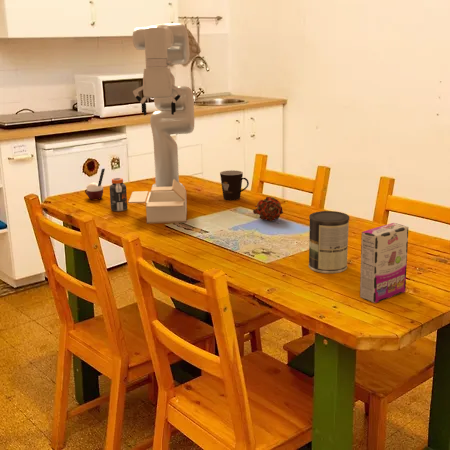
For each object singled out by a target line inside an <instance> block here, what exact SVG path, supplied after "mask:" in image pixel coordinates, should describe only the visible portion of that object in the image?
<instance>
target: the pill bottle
mask: <svg viewBox="0 0 450 450" xmlns="http://www.w3.org/2000/svg"><path fill="white" fill-rule="evenodd" d="M127 194H128V193H127V185H126V184H125V183H124V179H123V178H121V177H113V178H111V184H110V185H109V201H110V202H109V204H110V210H111V211H113V212H125V211H126V210H128V196H127Z"/></svg>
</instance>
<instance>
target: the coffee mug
mask: <svg viewBox="0 0 450 450" xmlns="http://www.w3.org/2000/svg"><path fill="white" fill-rule="evenodd" d="M243 174H244V173H243V171H240V170H233V169H231V170H223V171H220V172H219V176H220V182H221V183H220V184H221V190H222V195H223V196H222V198H223V200H224V201H228V202H229V201H238V200H240V199H241V196H242V195H241V194H242V192H243V191H245V190H246V189H247V188H248V187H249V184H250V183H249V180H248V179H247V178H246V177H243V176H244V175H243ZM243 180H245V181H246V186H245V187H244V188H242V186H243Z"/></svg>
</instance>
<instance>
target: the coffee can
mask: <svg viewBox="0 0 450 450" xmlns="http://www.w3.org/2000/svg"><path fill="white" fill-rule="evenodd" d="M308 217H309V232H308V233H309V234H308V235H309V236H308V238H309V242H308V243H309V245H308V249H309V250H308V268H309V269H310V270H311V271H313V272H316V273H320V274H337V273H338V274H339V273H342V272H344V271H346V270H347V269H348V250H349V246H348V245H349V224H350V223H349V221H350V215H349V214H347V213H346V212H345V213H344V212H342V211H336V210H335V211H334V210H333V211H332V210H321V211H316V212H312V213H311V214H309V216H308Z"/></svg>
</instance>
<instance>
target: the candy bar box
mask: <svg viewBox="0 0 450 450" xmlns="http://www.w3.org/2000/svg"><path fill="white" fill-rule="evenodd" d="M360 240H361V245H360V246H361V249H360V251H361V252H360V278H359V279H360V280H359V281H360V286H359V288H360V289H359V297H360V298H361V299H363V300H365V301H369V302H370V303H374V304H377V303H380V302H382V301H385V300H387V299H390V298H394V297H395V296H397V295H398V296H399V295H400V294H403V293H406V285H407V283H406V282H407V268H408V267H407V266H408V265H407V261H408V246H409V245H408V244H409V226H407V225H403V224H399V223H396V222H392V223H388V224H384V225H381V226H377V227H374V228H371V229H366V230H364V231H361V239H360Z"/></svg>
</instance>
